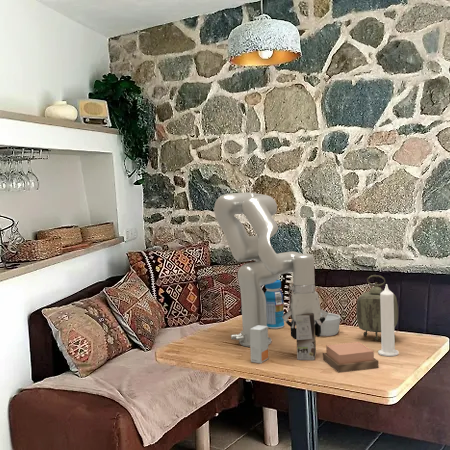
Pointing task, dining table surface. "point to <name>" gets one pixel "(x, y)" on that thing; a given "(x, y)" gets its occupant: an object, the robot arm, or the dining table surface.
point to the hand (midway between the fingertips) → (306, 336)
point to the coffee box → (305, 337)
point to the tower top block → (349, 352)
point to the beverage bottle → (274, 305)
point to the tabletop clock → (372, 309)
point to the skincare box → (259, 344)
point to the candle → (387, 323)
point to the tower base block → (350, 364)
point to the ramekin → (330, 325)
